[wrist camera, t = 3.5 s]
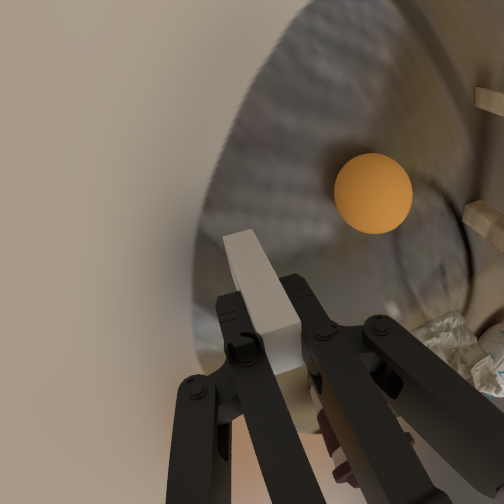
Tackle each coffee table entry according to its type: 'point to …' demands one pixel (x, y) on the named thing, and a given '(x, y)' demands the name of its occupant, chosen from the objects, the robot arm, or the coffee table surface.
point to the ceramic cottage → (459, 350)
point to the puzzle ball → (495, 352)
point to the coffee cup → (337, 445)
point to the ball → (373, 193)
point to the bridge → (479, 213)
